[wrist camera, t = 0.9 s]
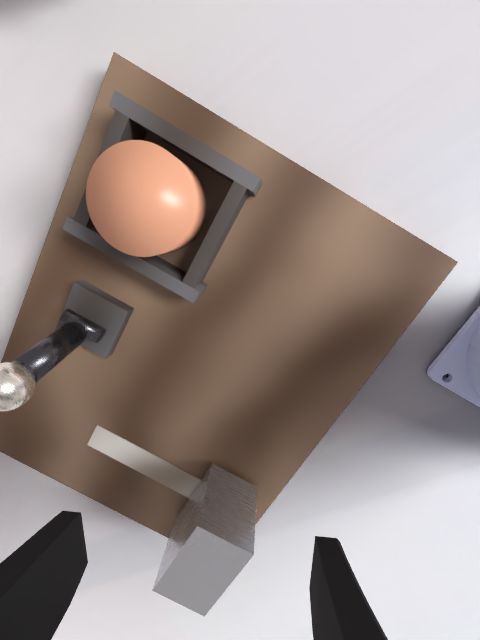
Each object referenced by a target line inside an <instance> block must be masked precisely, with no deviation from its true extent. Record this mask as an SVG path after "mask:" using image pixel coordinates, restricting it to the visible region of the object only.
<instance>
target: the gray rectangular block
mask: <svg viewBox="0 0 480 640" xmlns="http://www.w3.org/2000/svg"><path fill="white" fill-rule="evenodd" d="M256 493H257V487H256V486H254V485H252V484H251V483H249V482H247V481H245V480H243V479H241V478H239V477H238V476H236V475H234V474H232V473H230V472H228V471H226V470H224V469H223V468H221V467H219V466H217V465H215V464H213V463H212V465H211V466H210V468H209V469H208V471H207V472H206V474H205V475H204V477H203V478H202V480H201V481H200V483H199V484H198V486H197V487H196V489H195V490H194V492H193V493H192V495H191V496H190V498H189V499H188V501H187V502H186V504H185V505H184V507H183V508H182V510H181V511H180V513H179V514H178V516H177V517H176V519H175V522H174V525H173V528H172V531H171V534H170V537H169V540H168V543H167V547H166V550H165V553H164V556H163V559H162V562H161V565H160V568H159V571H158V574H157V578H156V581H155V584H154V587H153V591H155V592H157V593H159V594H161V595H163V596H165V597H167V598H169V599H171V600H173V601H175V602H177V603H179V604H181V605H183V606H185V607H187V608H189V609H191V610H193V611H195V612H197V613H199V614H201V615H203V616H205V615H206V614H207V612H208V611H209V610H210V609H211V607H212V606H213V605H214V604H215V602H216V601H217V600H218V599H219V597H220V596H221V595H222V594H223V592H224V591H225V590H226V589H227V587H228V586H229V585H230V584H231V582H232V581H233V580H234V579H235V577H236V576H237V575H238V574H239V572H240V571H241V570H242V569H243V567H244V566H245V565H246V564H247V562H248V561H249V560H250V559H251V557H252V556H253V554H254V534H255V513H256Z"/></svg>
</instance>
